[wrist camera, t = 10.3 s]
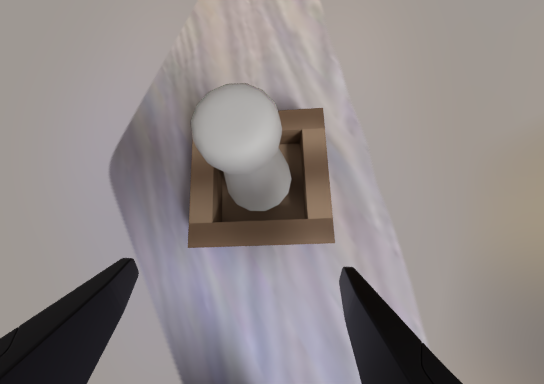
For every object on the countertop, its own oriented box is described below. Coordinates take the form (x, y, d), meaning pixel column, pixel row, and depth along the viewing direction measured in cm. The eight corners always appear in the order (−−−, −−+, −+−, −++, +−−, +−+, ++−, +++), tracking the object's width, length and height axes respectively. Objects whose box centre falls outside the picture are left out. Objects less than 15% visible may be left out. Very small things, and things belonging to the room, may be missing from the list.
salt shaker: (222, 198, 23) (140, 144, 10) (248, 149, 23) (206, 41, 11) (274, 224, 22) (260, 203, 9) (300, 172, 23) (320, 86, 10)
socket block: (326, 242, 22) (334, 243, 18) (204, 246, 23) (187, 247, 19) (316, 128, 25) (322, 107, 21) (207, 135, 25) (193, 115, 21)
